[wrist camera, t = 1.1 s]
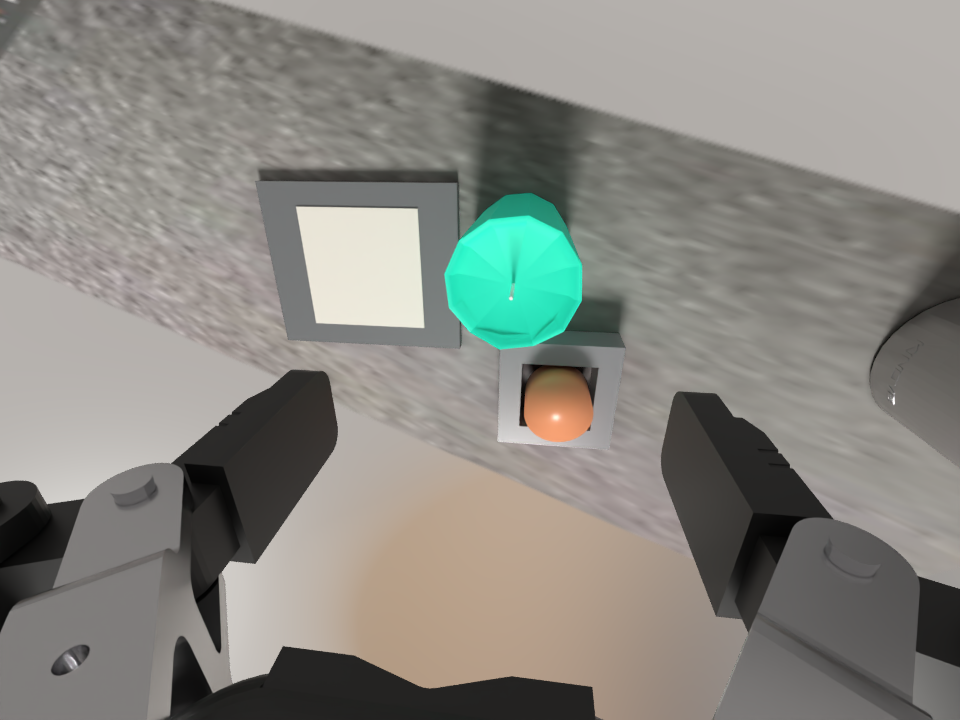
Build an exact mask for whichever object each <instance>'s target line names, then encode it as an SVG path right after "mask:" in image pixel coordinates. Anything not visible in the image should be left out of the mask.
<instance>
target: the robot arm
mask: <svg viewBox="0 0 960 720" xmlns="http://www.w3.org/2000/svg"><path fill="white" fill-rule="evenodd" d="M870 388H871V392H872V395H873V398H874V399H875V401H876V402H877V404H878V406H879V407H880V408H881V409H883V410H884V411H885V412H886V413H887V414H889V415H890V416H891V417H893V418H894V419H895V420H897V421H898V422H899V423H901V424H902V425H903V426H905V427H906V428H907V429H909V430H910V431H911V432H913V433H914V434H915V435H917V436H918V437H919V438H921V439H922V440H923V441H925V442H926V443H927V444H928V445H930V446H931V447H932V448H934V449H935V450H936V451H938V452H939V453H940V454H942V455H943V456H944V457H946V458H947V459H948V460H950V461H951V462H952V463H954V464H955V465H956V466H958V467H959V468H960V298H958V299H955V300H951V301H948V302H944V303H941V304H939V305H937V306H935V307H933V308H930V309H928V310H926V311H924V312H922V313H921V314H919V315H917V316H916V317H914V318H913V319H911V320H909V321H908V322H907V323H905V324H904V325H903V326H902V327H901V328H900V329H898V330H897V331H896V332H895V333H894V334H893V335H892V336H891V337H890V338H889V340H888V341H887V342H886V343H885V344H884V345H883V347H882V348H881V350H880V352H879V353H878V355H877V357H876V359H875V361H874V364H873V367H872V370H871V373H870ZM337 435H338V426H337V421H336V415H335V409H334V403H333V398H332V392H331V386H330V381H329V378H328V376H327V374H326V373H325V372H323V371H309V370H290V371H289V372H288V373H286V374H285V375H284V376H283V377H282V378H281V379H280V380H278V381H277V382H276V383H275V384H274V385H273V386H272V387H271V388H269V389H267V390H265V391H262V392H261V393H259V394H257V395H255V396H253V397H250V398H248V399H247V400H246V401H244V402H243V403H242V404H241V405H240V406H239V407H237V408H236V409H235V410H234V411H233V412H232V415H228V416H227V417H226V418H225V419H223V420H222V421H221V422H220V423H219V426H215V427H214V428H213V429H211V430H210V431H209V432H208V433H207V434H205V435H204V436H203V437H202V438H201V439H200V440H198V441H197V442H196V443H195V444H194V445H192V446H191V447H190V448H189V449H188V450H187V451H185V452H184V453H183V454H182V455H181V456H179V457H178V458H177V459H176V460H175V461H174V462H172V463H171V464H170V463H155V464H148V465H144V466H139V467H136V468H132V469H130V470H127V471H125V472H122V473H120V474H118V475H115V476H114V477H112V478H110V479H108V480H107V481H105V482H103V483H102V484H100V485H99V486H97V488H95V489H94V490H93V491H92V492H90V493H89V494H88V496H87V497H86V498H85V499H81V500H74V501H67V502H60V503H53V504H46V502H45V500H44V499H43V497H42V495H41V494H40V492H39V490H38V488H37V486H36V485H35V484H33V483H31V482H29V481H10V482H3V483H0V720H602V719H600V718H598V717H596V716H595V710H594V700H593V690H592V687H588V686H581V685H573V684H565V683H558V682H550V681H543V680H535V679H527V678H520V677H513V676H511V677H504V678H498V679H491V680H485V681H478V682H472V683H466V684H459V685H453V686H446V687H440V688H431V689H429V688H423V687H419V686H417V685H415V684H413V683H411V682H409V681H407V680H405V679H402V678H400V677H398V676H396V675H394V674H392V673H390V672H388V671H386V670H383V669H381V668H379V667H377V666H375V665H373V664H370V663H369V662H366V661H364V660H362V659H360V658H358V657H356V656H353V655H345V654H338V653H330V652H323V651H315V650H307V649H300V648H292V647H285V646H283V647H282V649H281V651H280V653H279V655H278V657H277V659H276V661H275V663H274V665H273V666H272V668H271V670H270V672H269V674H264V675H259V676H256V677H253V678H249V679H246V680H242V681H240V682H237V683H234V684H233V683H232V678H231V672H230V662H229V645H228V626H227V609H226V589H225V580H224V578H223V575H222V571H223V569H224V568H225V567H226V565H227V564H228V563H229V561H235V562H244V563H254V564H255V563H256V562H257V561H258V559H259V557H260V556H261V555H262V553H263V552H264V550H265V549H266V547H267V546H268V545H269V543H270V542H271V540H272V539H273V537H274V536H275V534H276V533H277V532H278V530H279V529H280V527H281V526H282V524H283V523H284V521H285V520H286V519H287V517H288V516H289V514H290V513H291V511H292V510H293V508H294V507H295V505H296V504H297V502H298V501H299V500H300V498H301V497H302V495H303V494H304V492H305V491H306V490H307V488H308V487H309V485H310V484H311V482H312V481H313V479H314V478H315V477H316V475H317V474H318V472H319V471H320V469H321V468H322V466H323V465H324V463H325V462H326V461H327V459H328V458H329V456H330V455H331V453H332V452H333V450H334V447H335V445H336V441H337ZM661 467H662V474H663V478H664V481H665V483H666V486H667V489H668V491H669V494H670V496H671V499H672V502H673V504H674V507H675V510H676V512H677V515H678V517H679V520H680V523H681V525H682V528H683V531H684V533H685V536H686V539H687V541H688V544H689V546H690V549H691V552H692V554H693V557H694V560H695V562H696V565H697V567H698V570H699V573H700V575H701V578H702V581H703V583H704V586H705V588H706V591H707V594H708V596H709V599H710V602H711V604H712V607H713V610H714V612H715V615H716V616H718V617H726V618H735V619H742V620H743V622H744V624H745V626H746V629H747V631H748V636H747V638H746V640H745V642H744V645H743V647H742V650H741V653H740V654H739V657H738V660H737V662H736V664H735V666H734V669H733V671H732V674H731V676H730V678H729V681H728V683H727V686H726V688H725V690H724V693H723V695H722V698H721V700H720V703H719V705H718V707H717V710H716V712H715V714H714V717H713V719H712V720H960V589H958V588H955V587H951V586H948V585H945V584H942V583H938V582H935V581H932V580H928V579H925V578H922V577H919V576H917V574H916V573H915V571H914V569H913V568H912V566H911V565H910V564H909V563H908V562H907V560H906V559H905V558H904V557H903V556H902V555H901V554H899V553H898V552H897V551H896V550H895V549H893V548H892V547H891V546H890V545H888V544H887V543H885V542H884V541H882V540H881V539H879V538H878V537H876V536H874V535H872V534H871V533H869V532H867V531H865V530H862V529H860V528H858V527H856V526H853V525H850V524H848V523H844V522H841V521H838V520H834V519H833V518H832V517H831V515H830V514H829V513H828V512H827V510H826V509H825V508H824V507H823V505H822V504H821V503H820V502H819V500H818V499H817V498H816V497H815V495H814V494H813V493H812V492H811V490H810V489H809V488H808V487H807V485H806V484H805V483H804V482H803V480H802V479H801V478H800V477H799V475H798V474H797V473H796V472H795V470H794V469H791V468H790V464H789V463H788V462H787V460H786V459H785V458H784V457H783V455H782V454H779V453H778V449H777V448H776V447H775V445H774V444H773V443H772V442H771V441H770V439H769V438H768V437H767V436H766V434H765V433H764V432H762V431H761V430H759V429H758V428H756V427H755V426H754V425H752V424H751V423H749V422H748V421H746V420H745V419H743V418H736V417H733V415H732V414H731V412H730V411H729V410H728V408H727V407H726V406H725V404H724V403H723V402H722V400H721V399H720V397H719V396H718V395H717V394H714V393H697V392H677V393H676V394H675V396H674V399H673V402H672V406H671V411H670V415H669V420H668V425H667V429H666V434H665V438H664V443H663V447H662V454H661Z"/></svg>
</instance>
